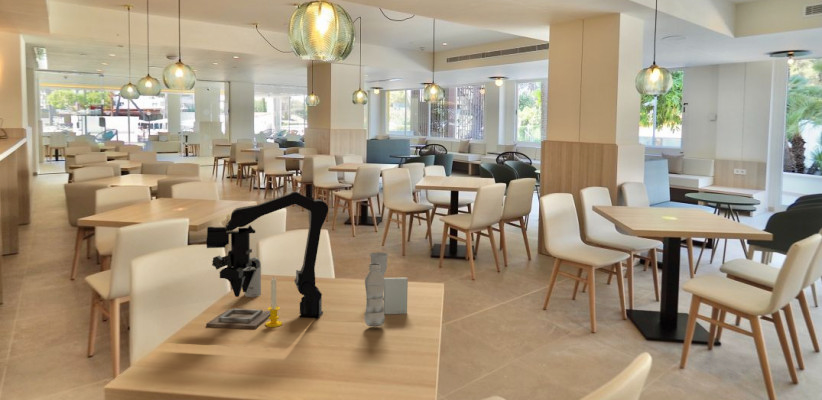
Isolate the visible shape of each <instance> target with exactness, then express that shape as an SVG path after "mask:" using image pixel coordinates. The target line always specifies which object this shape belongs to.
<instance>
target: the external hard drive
mask: <svg viewBox="0 0 822 400" xmlns="http://www.w3.org/2000/svg"><path fill="white" fill-rule="evenodd" d="M384 279H385V284H384V291H383V298H384V300H383V311H384V315H405V314H408V290H409V289H408V287H409V286H408V277H384Z"/></svg>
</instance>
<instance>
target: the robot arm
mask: <svg viewBox="0 0 822 400" xmlns="http://www.w3.org/2000/svg"><path fill="white" fill-rule="evenodd" d="M294 205H297V206H299V207H301V208H303V209H305V210H307V211H308V223H309V226H308V231H307V237H306V244H305V251H304V254H303V255H304V256H303V262H302V263H303V264H302V266H301V268H300V269H299V270H298V269H297V270H295V271H296V272H295V278H294V280H293V281H294V284H295V286H296V288H297V290H298V292H299V294H301V295H302V297H301V301H299V314H300V315H299V317H300V318H307V319H308V318H309V319H319V318H320V317H321V316H322V315H323V313H324V311H323V309H322V306H323V305H322V300H323V299H322V295H323V294H322V292H321V291H320V289H319V287H318V286H316V272H315V267H316V263H317V262H316V261H317V255H318V249H319V245H320V237H321V232H322V228H323V226H324V223H325V221H326V219H327V215H328V212H329V206H328V204H327V203H326V202H325V201H323V200H321V199H319V198H317V199H316V198H315V199H311V198H310V197H308V196H306V195H303V194H301V193H300V192H298V191H291V192H290V193H287V194H284V195H282V196H281V195H280V196H278V197H276V198H273V199H270V200H268V201H267V200H266V201H265V202H262V203H259V204H256V205H255V204H254V205H246V206H242V207H236V208H235V209H234V210H232V212H231V214H230V219H229V221H227V223H226V224H225V226H207V228H206V231H207V232H206V242H205V243H206V249H218V248H219V249H222V248H223V249H224V248H226V246H227V245H230V250H229V251H228V252H227V255H225V256H220V255H217V256H214V257H213V258H212V261H211V262H212V263H211V265H212V266H213V267H215V270H220V269H221V268H222V269H221V270H220V271H219V278H220V279H225V280H227V281H228V282H229V283H230V285H231V289H232V292H233V294H234V296H235V297H236V298H238V297H240V296H241V291H242V292H243V293H245V292H247V289H248V287H249V285H250V283H251V280H252V278H253V276H254V274H255V272H256V271H257V270H255V269H257V268H259V267H260V262H261V260H260V259H259V260H260V261H259V260H258V259H250V258H251V256H250V255H251V253H253V249H252V248H251V247H250V244H251V243H250V237H251V236H250V234H256V229H254V228H253V227H252V225H251V224H252V223H253V222H254V221H256V220H258V219H259V218H261V217H262V216H263V217H264V216H265V215H269V214H272V213H274V212H276V211H279V210H282V209H285V208H287V207H291V206H294ZM247 225H248V226H247ZM246 226H247V227H246ZM237 228H238V230H236V229H237ZM252 267H255V269H253V268H252Z"/></svg>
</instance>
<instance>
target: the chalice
mask: <svg viewBox="0 0 822 400" xmlns="http://www.w3.org/2000/svg"><path fill="white" fill-rule="evenodd" d="M369 257H370V264H371V263H379V264H381V270H380V272H381V274H382V275H383V277H385V274H386V271H387V269H388V257H389V253H387V252H370V253H369ZM383 301H384V297H383Z"/></svg>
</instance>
